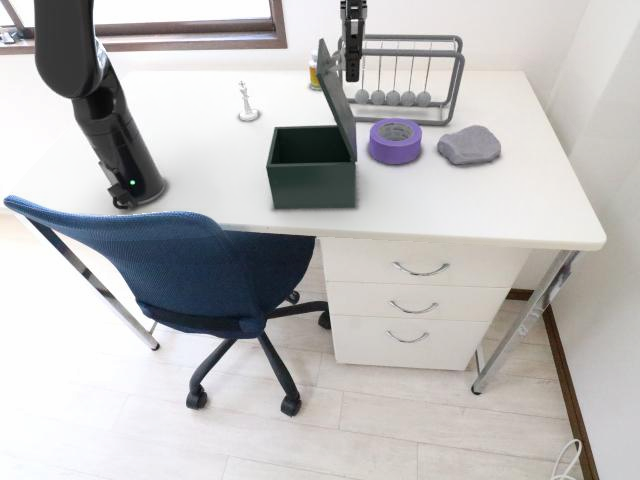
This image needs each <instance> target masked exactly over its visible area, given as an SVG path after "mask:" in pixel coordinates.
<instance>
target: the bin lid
mask: <svg viewBox="0 0 640 480" xmlns="http://www.w3.org/2000/svg"><path fill="white" fill-rule="evenodd" d="M317 50H318V56H317V66H316V77H317V79H318V82H319V84H320V86H321V89H322V90H321V91H322V93H323V96H324V98H325V101H326V103H327V105H328V107H329V109H330V112H331V114H332V116H333V119H334V121H335V125H337V126H338V128H339V131H340V133H341V135H342V137H343V140H344V142H345V144H346V147H347V149H348V151H349V154H350V156H351V158H352V161H353V163H355V164H356V163H358V145H357V144H358V143H357V123H356V122H357V121H355V119H354V113H353V111H352V109H351V106H350V103H348V100H347V98H348V97H347V96H346V95H347V94H346V93H345V90H344V87H343V88H342V85H341V82H340V80H339V77H338V70H341V69H342V70H343V72H346V60H345V57H344V53H345V46H344V48H342V49H341V51H340V53H339V54H337V55H334V56H332V55H331V54H330V51H329V49H328V47H327V44H326V41H325V39H324V37H322V38H319V40H318V47H317ZM349 50H350V49H349ZM338 60H340V64H338V63H337V64H336V65H335V66H334V64H333V62H335V61H336V62H338Z"/></svg>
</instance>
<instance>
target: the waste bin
mask: <svg viewBox="0 0 640 480" xmlns="http://www.w3.org/2000/svg"><path fill="white" fill-rule="evenodd" d="M265 164H266V166H265V169H266V175H267V179H268V183H269V189H270V193H271V199H272V204H273V208H274V210H286V209H290V210H292V209H293V210H295V209H343V208H348V209H349V208H351V209H352V208H356V162H355V163H353V161H352V158H351V156H350V154H349V151H348V149H347V147H346V144H345V142H344V140H343V137H342V135H341V133H340V131H339V128H338V126H337V124H321V125H296V126H295V125H294V126H293V125H291V126H290V125H289V126H274V128H273V133H272V138H271V142H270V146H269V151H268V156H267V161H266V163H265Z"/></svg>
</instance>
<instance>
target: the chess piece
mask: <svg viewBox="0 0 640 480" xmlns="http://www.w3.org/2000/svg"><path fill="white" fill-rule="evenodd" d="M238 85H239V88H238V90H239V91H240V94H241V95H240V99H242V100H243V107H244V110H242V111H241V112H240V114H239V118H240V120H242V121H247V122H249V121H253V120H255V119H257V118H258V116H259V114H258V111H257V110H256V109H254V108H251V106H250V103H249V100H248V99H249V98H250V96H249V95H250V94H248V93H247V91H248V87H247V86H246V82H244V81H243V79H240V80H239V82H238Z"/></svg>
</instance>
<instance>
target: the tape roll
mask: <svg viewBox="0 0 640 480" xmlns="http://www.w3.org/2000/svg"><path fill="white" fill-rule="evenodd" d="M388 118H389V119H384V120H381V121H378V122H374V123H373V124H372V126H371V127H370V129H369V142H368V143H369V145H368V151H369V154H370V155H371V157H372V158H373V159H374V160H376V161H378V162H380V163H382V164H383V163H384V164H387V165H402V164H403V165H404V164H407V163H409V162H412V161H414V160H415V159H416V158H417V157H418V156H419V155H420V151H421V143H422V138H423V130H422V128H421V126H420V124H416V123H415V122H413V121H410V120H407V119H408V118H401V117H388Z"/></svg>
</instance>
